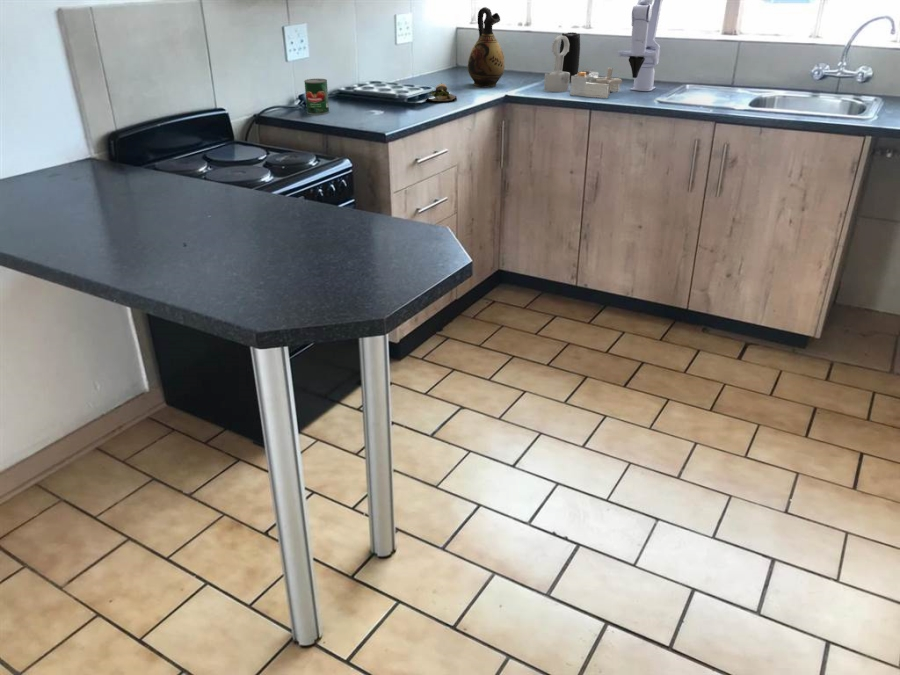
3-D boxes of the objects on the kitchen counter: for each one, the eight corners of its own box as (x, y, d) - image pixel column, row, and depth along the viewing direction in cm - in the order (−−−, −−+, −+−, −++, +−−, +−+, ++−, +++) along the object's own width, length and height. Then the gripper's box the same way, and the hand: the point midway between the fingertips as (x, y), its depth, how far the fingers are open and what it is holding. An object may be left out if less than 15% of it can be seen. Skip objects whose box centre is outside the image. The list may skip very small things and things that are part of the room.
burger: (420, 102, 282) (420, 82, 278) (432, 97, 292) (432, 77, 288) (450, 104, 278) (449, 84, 274) (461, 99, 288) (461, 79, 284)
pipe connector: (616, 92, 297) (619, 66, 292) (622, 97, 289) (626, 70, 284) (591, 92, 297) (594, 65, 292) (597, 97, 288) (600, 70, 283)
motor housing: (583, 88, 305) (584, 67, 301) (619, 91, 299) (621, 70, 295) (569, 95, 292) (570, 73, 289) (606, 98, 286) (608, 76, 282)
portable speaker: (556, 81, 321) (559, 34, 312) (560, 78, 329) (563, 31, 320) (575, 82, 319) (578, 34, 310) (579, 79, 326) (582, 32, 317)
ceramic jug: (511, 86, 312) (514, 8, 298) (482, 89, 304) (483, 10, 290) (487, 80, 324) (488, 5, 310) (458, 84, 316) (458, 7, 302)
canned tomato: (310, 115, 261) (307, 82, 256) (304, 111, 267) (301, 79, 262) (332, 113, 264) (329, 81, 258) (326, 109, 270) (323, 77, 265)
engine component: (539, 89, 304) (557, 92, 298) (541, 35, 295) (560, 37, 288) (556, 86, 311) (575, 89, 304) (560, 33, 301) (579, 35, 294)
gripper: (616, 39, 279) (613, 77, 286) (655, 41, 273) (650, 80, 280) (622, 37, 285) (618, 74, 291) (660, 39, 279) (655, 77, 285)
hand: (634, 77), depth 286 cm, fingers closed
